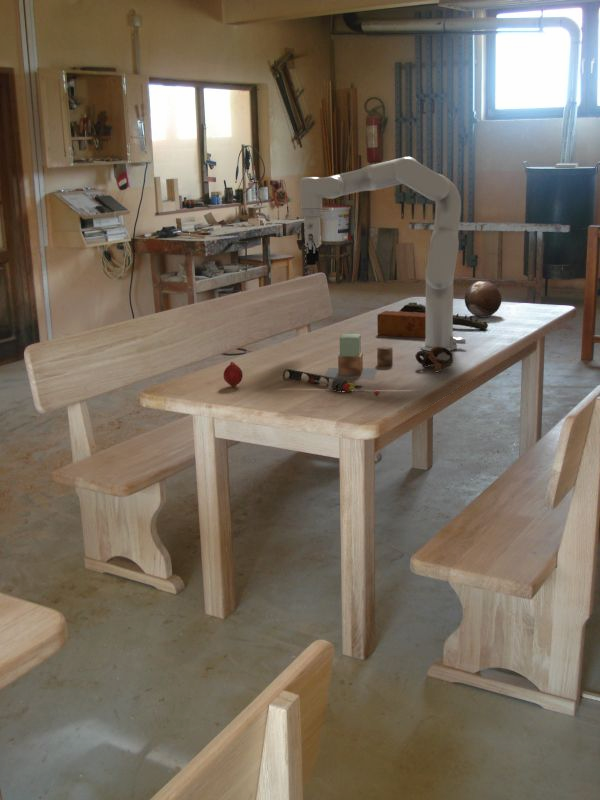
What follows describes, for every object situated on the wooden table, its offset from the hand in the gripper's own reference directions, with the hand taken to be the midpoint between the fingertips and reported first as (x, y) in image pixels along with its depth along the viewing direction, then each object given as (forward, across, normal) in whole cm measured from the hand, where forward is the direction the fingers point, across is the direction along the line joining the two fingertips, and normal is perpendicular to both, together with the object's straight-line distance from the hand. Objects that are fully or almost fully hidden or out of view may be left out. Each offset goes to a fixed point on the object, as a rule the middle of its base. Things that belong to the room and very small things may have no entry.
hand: (312, 263), depth 331 cm
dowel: (+31, -28, -26) cm, 49 cm away
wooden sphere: (+31, +61, -64) cm, 94 cm away
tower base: (+30, -40, -16) cm, 52 cm away
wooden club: (+31, +38, -45) cm, 66 cm away
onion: (+31, -56, +19) cm, 67 cm away
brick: (+31, +24, -32) cm, 51 cm away
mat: (+31, -40, -16) cm, 52 cm away
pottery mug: (+31, -33, -42) cm, 61 cm away
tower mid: (+24, -40, -16) cm, 49 cm away
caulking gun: (+31, -56, -12) cm, 66 cm away
